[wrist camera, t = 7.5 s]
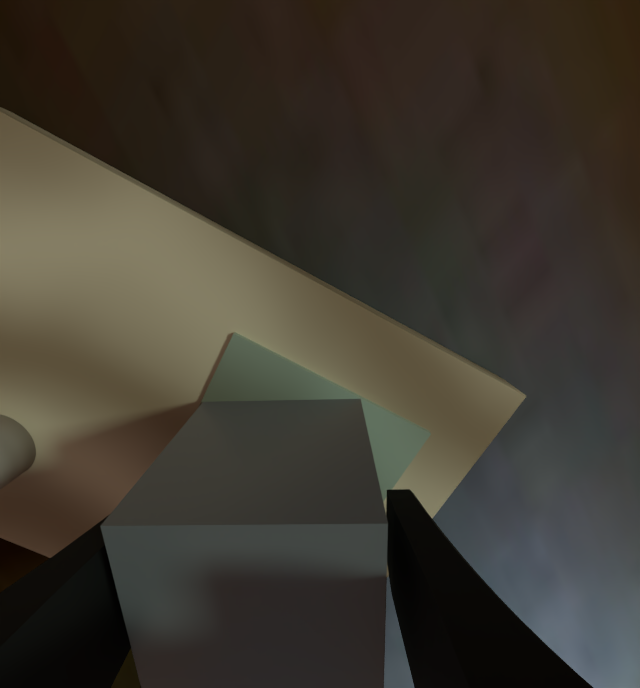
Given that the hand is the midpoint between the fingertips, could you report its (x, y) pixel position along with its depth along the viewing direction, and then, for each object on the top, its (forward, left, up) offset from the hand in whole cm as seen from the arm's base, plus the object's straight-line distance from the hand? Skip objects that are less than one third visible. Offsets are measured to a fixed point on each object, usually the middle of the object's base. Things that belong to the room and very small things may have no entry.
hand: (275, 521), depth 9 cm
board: (-1, +4, -4) cm, 5 cm away
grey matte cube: (0, 0, -2) cm, 2 cm away
